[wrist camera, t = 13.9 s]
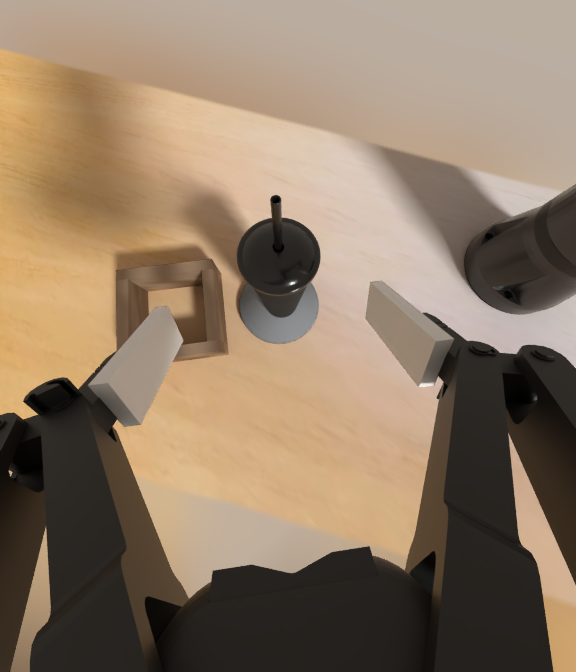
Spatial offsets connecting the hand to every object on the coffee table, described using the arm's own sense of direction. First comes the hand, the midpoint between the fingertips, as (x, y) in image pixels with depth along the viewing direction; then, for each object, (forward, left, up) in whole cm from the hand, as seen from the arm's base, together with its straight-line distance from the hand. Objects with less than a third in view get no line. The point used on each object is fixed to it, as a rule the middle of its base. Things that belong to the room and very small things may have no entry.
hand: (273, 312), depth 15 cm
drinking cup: (-1, -7, -18) cm, 19 cm away
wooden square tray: (+14, -6, -19) cm, 24 cm away
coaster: (-1, -6, -19) cm, 20 cm away
